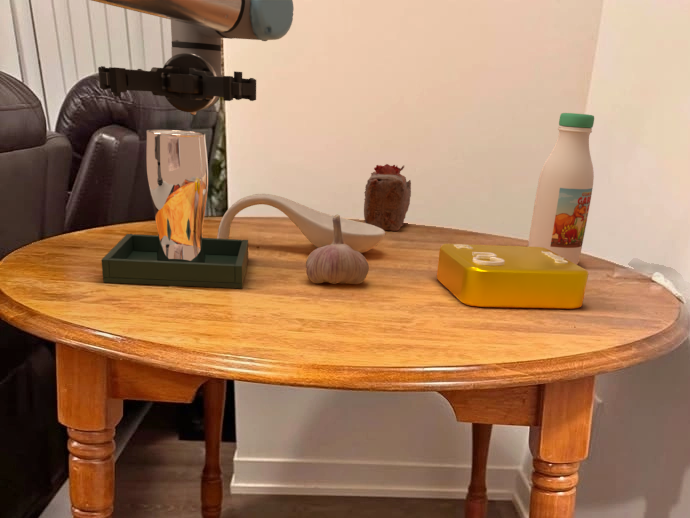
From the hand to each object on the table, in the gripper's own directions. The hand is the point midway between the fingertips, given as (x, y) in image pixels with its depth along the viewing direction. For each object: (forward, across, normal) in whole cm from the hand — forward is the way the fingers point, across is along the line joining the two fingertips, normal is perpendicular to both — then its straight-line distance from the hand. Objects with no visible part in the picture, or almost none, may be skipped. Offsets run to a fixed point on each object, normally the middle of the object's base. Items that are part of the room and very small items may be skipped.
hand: (170, 84), depth 95 cm
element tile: (+14, -42, -20) cm, 48 cm away
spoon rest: (-7, -17, -20) cm, 27 cm away
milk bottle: (-6, -54, -20) cm, 58 cm away
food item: (-32, -32, -20) cm, 50 cm away
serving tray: (+10, -2, -20) cm, 23 cm away
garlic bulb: (+13, -21, -20) cm, 32 cm away
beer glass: (+10, -2, -20) cm, 22 cm away
